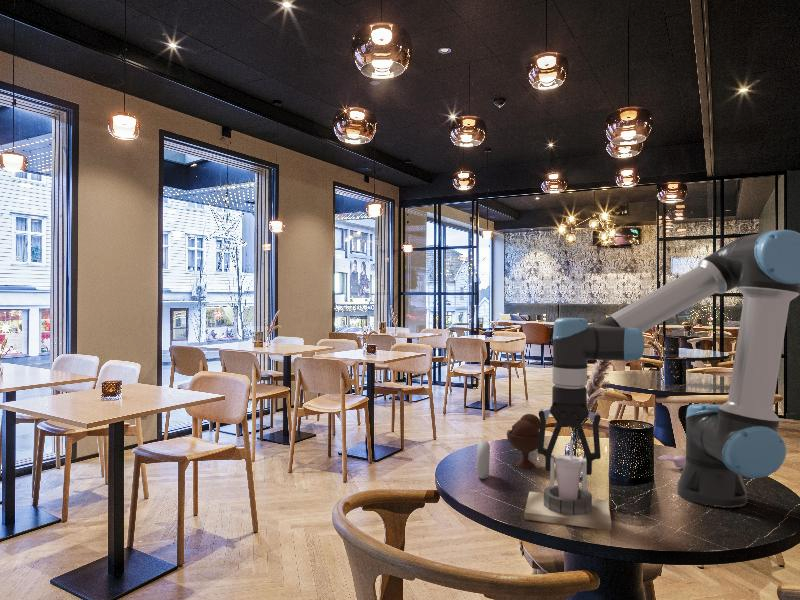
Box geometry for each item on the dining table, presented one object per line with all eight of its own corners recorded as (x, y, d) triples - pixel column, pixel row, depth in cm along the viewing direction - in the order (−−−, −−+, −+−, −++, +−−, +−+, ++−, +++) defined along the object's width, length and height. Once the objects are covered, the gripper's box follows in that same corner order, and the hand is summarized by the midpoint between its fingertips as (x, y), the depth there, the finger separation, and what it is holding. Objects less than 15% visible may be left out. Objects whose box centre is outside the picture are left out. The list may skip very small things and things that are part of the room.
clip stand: (607, 506, 133) (607, 487, 133) (611, 530, 120) (611, 509, 119) (529, 497, 138) (529, 479, 138) (524, 519, 125) (524, 498, 125)
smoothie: (584, 507, 125) (585, 444, 125) (554, 505, 126) (555, 442, 126) (581, 497, 131) (581, 437, 131) (552, 495, 133) (553, 435, 132)
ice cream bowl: (515, 458, 171) (515, 408, 171) (550, 465, 165) (551, 413, 165) (499, 466, 163) (500, 414, 163) (536, 474, 156) (537, 420, 156)
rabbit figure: (709, 473, 164) (654, 461, 167) (713, 453, 164) (658, 441, 166) (716, 480, 158) (660, 467, 161) (720, 459, 158) (664, 447, 160)
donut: (489, 484, 147) (489, 446, 147) (475, 483, 148) (476, 445, 148) (489, 472, 157) (490, 436, 157) (477, 471, 158) (477, 436, 158)
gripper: (613, 385, 129) (612, 486, 130) (527, 380, 135) (526, 477, 135) (616, 391, 122) (614, 497, 122) (524, 385, 128) (523, 487, 128)
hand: (568, 486), depth 129 cm, fingers closed on smoothie, 6 cm apart
